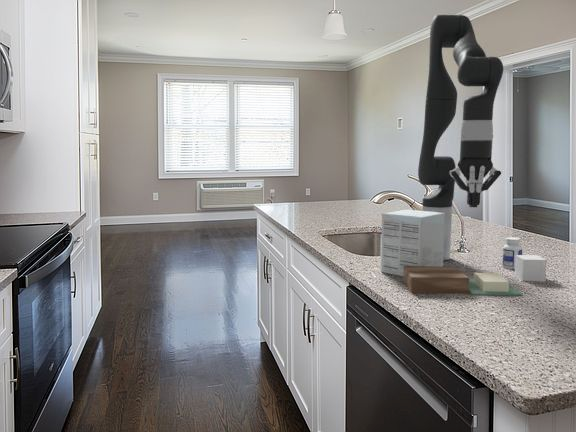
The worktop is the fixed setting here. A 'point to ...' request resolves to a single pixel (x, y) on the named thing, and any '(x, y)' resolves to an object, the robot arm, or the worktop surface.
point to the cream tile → (491, 282)
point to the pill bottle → (511, 252)
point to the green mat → (478, 291)
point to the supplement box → (411, 240)
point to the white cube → (530, 268)
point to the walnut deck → (436, 280)
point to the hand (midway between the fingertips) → (473, 206)
